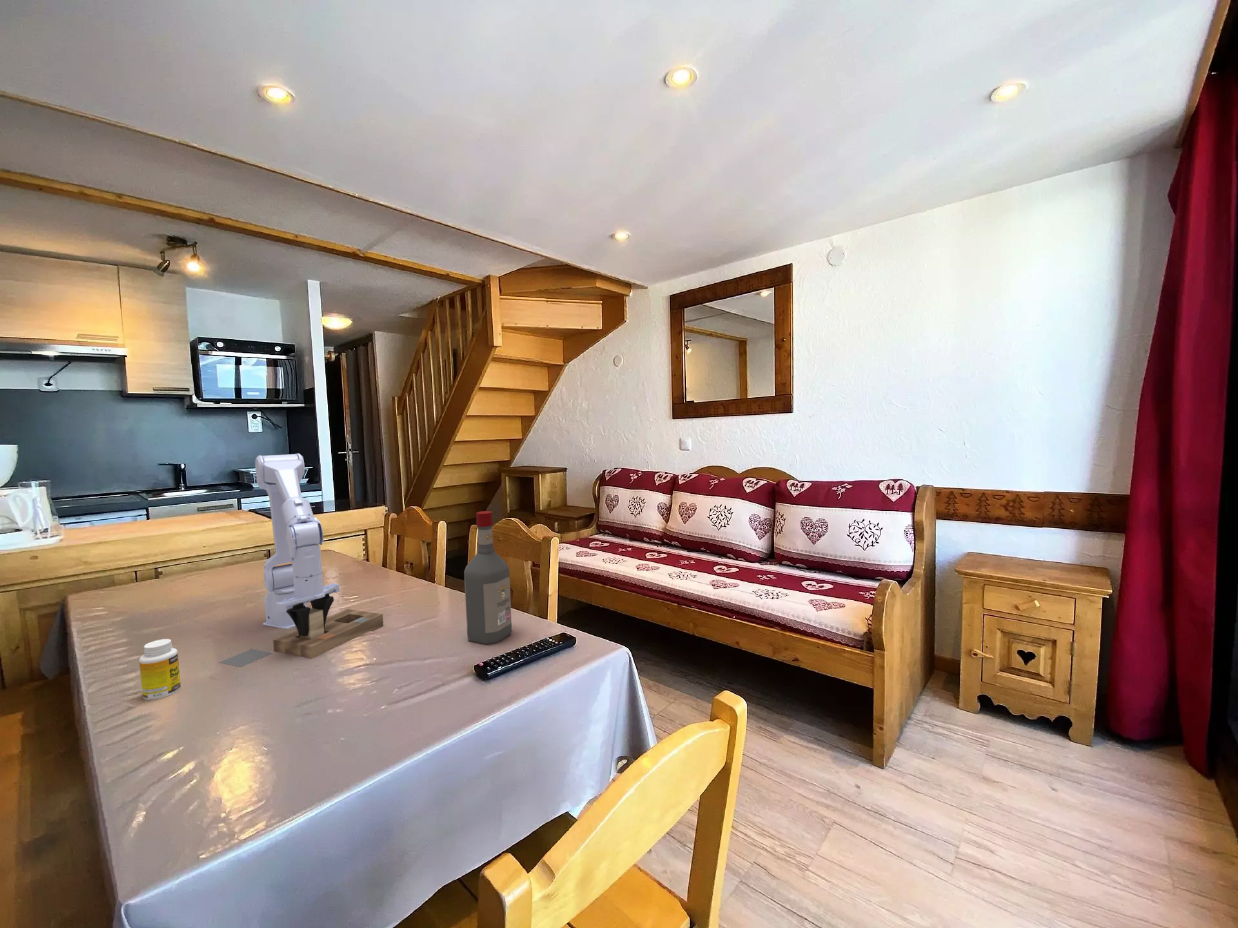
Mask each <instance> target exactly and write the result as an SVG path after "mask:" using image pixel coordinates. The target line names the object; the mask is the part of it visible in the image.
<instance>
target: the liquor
mask: <svg viewBox="0 0 1238 928" xmlns="http://www.w3.org/2000/svg"><path fill="white" fill-rule="evenodd" d="M475 514H476V516H475V517H476V527H477V549H476V550H477V552H476V554H475V555H474V556H473V558H471V560H470V561H469V562H468V564H467V565H466V566H465V568H464V572H463V576H464V595H465V596H464V597H465V598H464V599H465V616H466V634H467V639H468V640H469V642H473V643H478V644H481V645H482V644H483V645H490V644H491V645H492V644H498V643H499V642H501V641H502V640H504V639H506V638H507V637H509V636H510V635H511V634H512V631H513V626H512V605H511V580H510V579H511V578H510V568H509V566H508V564H507V562H506V561H505V560H504V558H502V557H501V556H499V554H498V553H496V551H495V548H494V538H493V537H494V536H493V524H494V523H493V522H494V521H493V511H490V510H484V511H483V510H482V511H477V512H475Z"/></svg>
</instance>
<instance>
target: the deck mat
mask: <svg viewBox="0 0 1238 928" xmlns="http://www.w3.org/2000/svg"><path fill="white" fill-rule="evenodd" d="M272 654H273V652H269V651H264V650H260V649H254V648H250V649H248V650H246V651H243V652H241V653H238V654H236V655H233V656H231V657H229V658H225V659H224V660H222V661H219V662H218V663H219V664H224V665H228V666H233V667H238V668H242V667H245V666H247V665H249V664H251V663H254V662H257V661H258V660H261V659H263V658H265V657H268V656H270V655H272Z"/></svg>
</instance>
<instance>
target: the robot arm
mask: <svg viewBox="0 0 1238 928" xmlns="http://www.w3.org/2000/svg"><path fill="white" fill-rule="evenodd" d="M254 469H255V477H256V485H257V486H258V489H261V490H265V491H266V493H267V496H268V498H269V500H268V501H269V507H270V516H271V524H272V525H271V526H272V533H273V543H274V551H275V553H273V555H271V556H270V557H269V558H268V559H266V561H265V562H264V564H263V582H264V587H265V589H266V591H268V592H266V593H267V594H266V595H265V597H264V601H263V602H264V614H265V622H262V625H263V626H266V627H267V626H268V627H273V628H274V627H275V628H279V629H286V630H289V629H292V628H294V627H295V628H296V630H298V633H299V635H300V636H308V632H309V628H308V618H309V612H310V609H312V608H314V609H320V610H323V622H324V628H325V623H326V618H327V617H328V613H329V611H330V609H331V606H332V605H333V602H334V599H335V597H334V596H332V594H335V593H336V594H337V593H339V592H340V588H341V587H340V583H336V582H335V583H330V584H326V585H324V581H323V580H324V579H323V567H322V564H323V563H322V554H321V553H322V552H321V546H322V545H323V543H324V530H323V526H322V523H321V521H320V520H319V519H318V517H315V516H314V513H313V510H312V507H311V504H310V502H309V500H308V499H307V498H304V497H303V496H302V492H301V486H300V483H301V481H302V480H303V476H304V475H305V472H306V471H305V469H306V467H305V462H304V456H303V455H301V454H300V453H294V454H293V453H291V454H273V455H262V454H261V455H260V454H259V455H257V456H256V457H255V461H254ZM288 563H289V564H288ZM307 603H310V605H311V607H307V606H308V605H307Z"/></svg>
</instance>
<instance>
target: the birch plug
mask: <svg viewBox="0 0 1238 928" xmlns="http://www.w3.org/2000/svg"><path fill="white" fill-rule="evenodd" d="M308 628H309V632H308V636H300V638H302V639H307V640H311V639H314V638H316V637H318V636H320V635H323V634H324V622H323V610H320V609H314V608H312V607H311V609H310V612H309V618H308Z"/></svg>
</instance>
